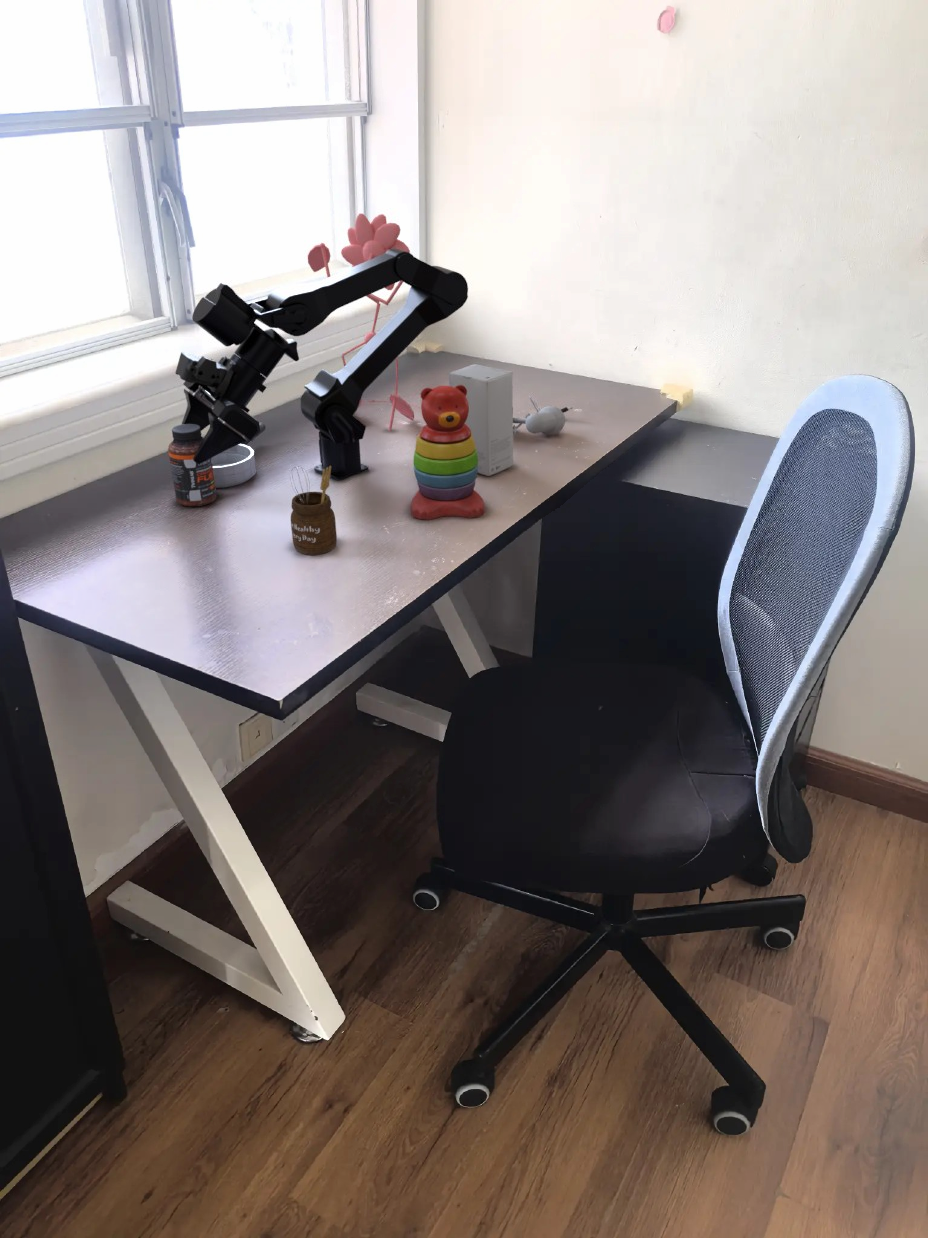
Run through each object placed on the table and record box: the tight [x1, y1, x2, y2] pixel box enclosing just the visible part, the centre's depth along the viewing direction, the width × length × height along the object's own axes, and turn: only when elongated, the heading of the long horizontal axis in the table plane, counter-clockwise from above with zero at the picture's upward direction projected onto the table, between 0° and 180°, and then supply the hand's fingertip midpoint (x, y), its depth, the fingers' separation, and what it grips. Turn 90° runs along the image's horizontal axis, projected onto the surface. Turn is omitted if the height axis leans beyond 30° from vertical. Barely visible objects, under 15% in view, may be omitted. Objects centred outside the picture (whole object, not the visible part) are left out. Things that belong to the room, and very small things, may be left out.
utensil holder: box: [289, 466, 338, 556], centre depth 122 cm, size 6×6×12 cm
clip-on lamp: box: [513, 395, 573, 437], centre depth 164 cm, size 12×6×18 cm
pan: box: [212, 444, 257, 489], centre depth 146 cm, size 11×11×4 cm
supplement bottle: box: [167, 423, 217, 508], centre depth 136 cm, size 6×6×11 cm
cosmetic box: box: [448, 363, 514, 477], centre depth 146 cm, size 8×7×16 cm
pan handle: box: [229, 422, 267, 451], centre depth 155 cm, size 11×2×2 cm, turn 166°
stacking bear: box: [410, 385, 486, 520], centre depth 132 cm, size 11×10×18 cm
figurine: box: [307, 213, 421, 436], centre depth 163 cm, size 15×26×35 cm, turn 66°
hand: (186, 452), depth 135 cm, fingers open, 9 cm apart
